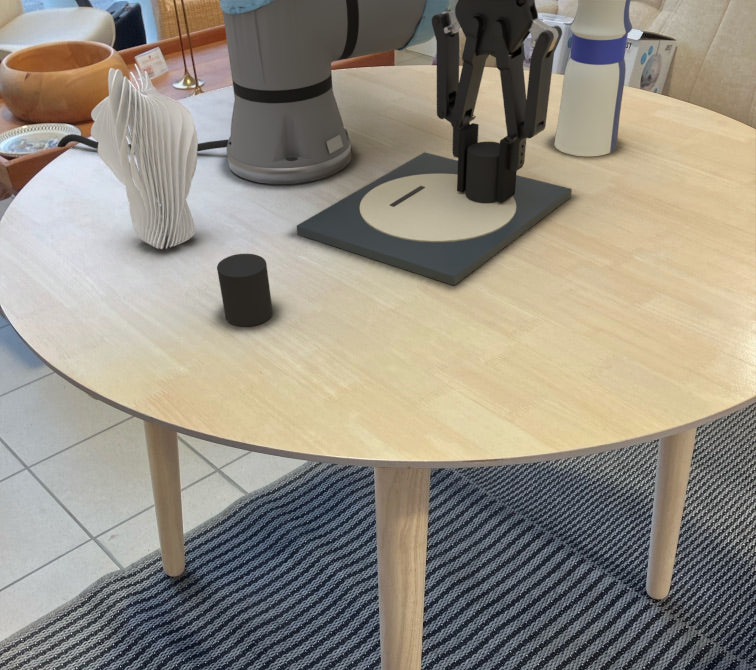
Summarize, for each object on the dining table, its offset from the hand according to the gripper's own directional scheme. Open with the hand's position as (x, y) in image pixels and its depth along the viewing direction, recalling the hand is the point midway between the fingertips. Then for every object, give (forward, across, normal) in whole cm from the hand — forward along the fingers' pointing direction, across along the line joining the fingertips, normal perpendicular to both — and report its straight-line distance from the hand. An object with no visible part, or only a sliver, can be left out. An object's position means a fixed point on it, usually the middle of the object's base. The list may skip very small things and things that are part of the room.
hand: (485, 192), depth 94 cm
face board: (+2, -3, -5) cm, 6 cm away
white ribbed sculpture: (+2, -24, -26) cm, 35 cm away
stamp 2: (0, 0, 0) cm, 0 cm away
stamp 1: (+2, -6, -32) cm, 33 cm away
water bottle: (+2, +1, +22) cm, 22 cm away
